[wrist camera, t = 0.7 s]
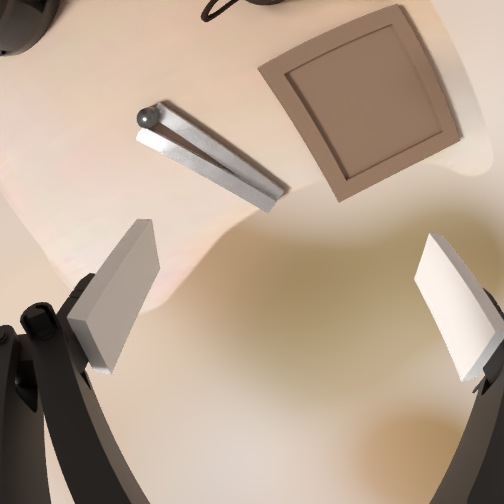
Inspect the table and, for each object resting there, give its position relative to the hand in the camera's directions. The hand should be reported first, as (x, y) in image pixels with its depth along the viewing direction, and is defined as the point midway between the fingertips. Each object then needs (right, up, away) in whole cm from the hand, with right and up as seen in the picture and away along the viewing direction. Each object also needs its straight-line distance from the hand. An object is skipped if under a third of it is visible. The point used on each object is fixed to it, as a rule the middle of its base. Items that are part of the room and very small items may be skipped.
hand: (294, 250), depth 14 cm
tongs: (-6, +11, +21) cm, 25 cm away
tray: (+11, +17, +16) cm, 26 cm away
